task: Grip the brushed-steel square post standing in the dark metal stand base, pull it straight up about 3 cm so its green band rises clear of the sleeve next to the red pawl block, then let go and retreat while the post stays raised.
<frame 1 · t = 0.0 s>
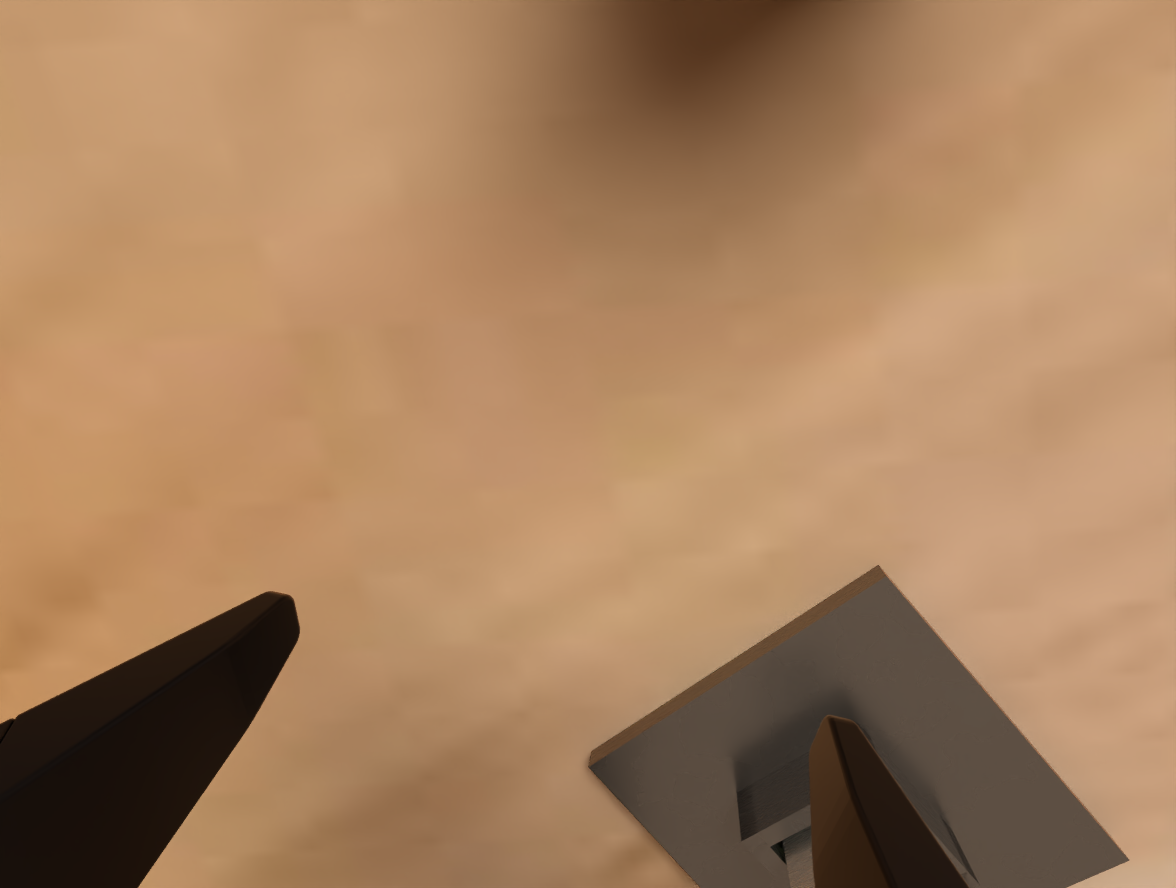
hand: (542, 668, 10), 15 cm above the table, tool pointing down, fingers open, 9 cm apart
stand base: (835, 792, 27), on the table
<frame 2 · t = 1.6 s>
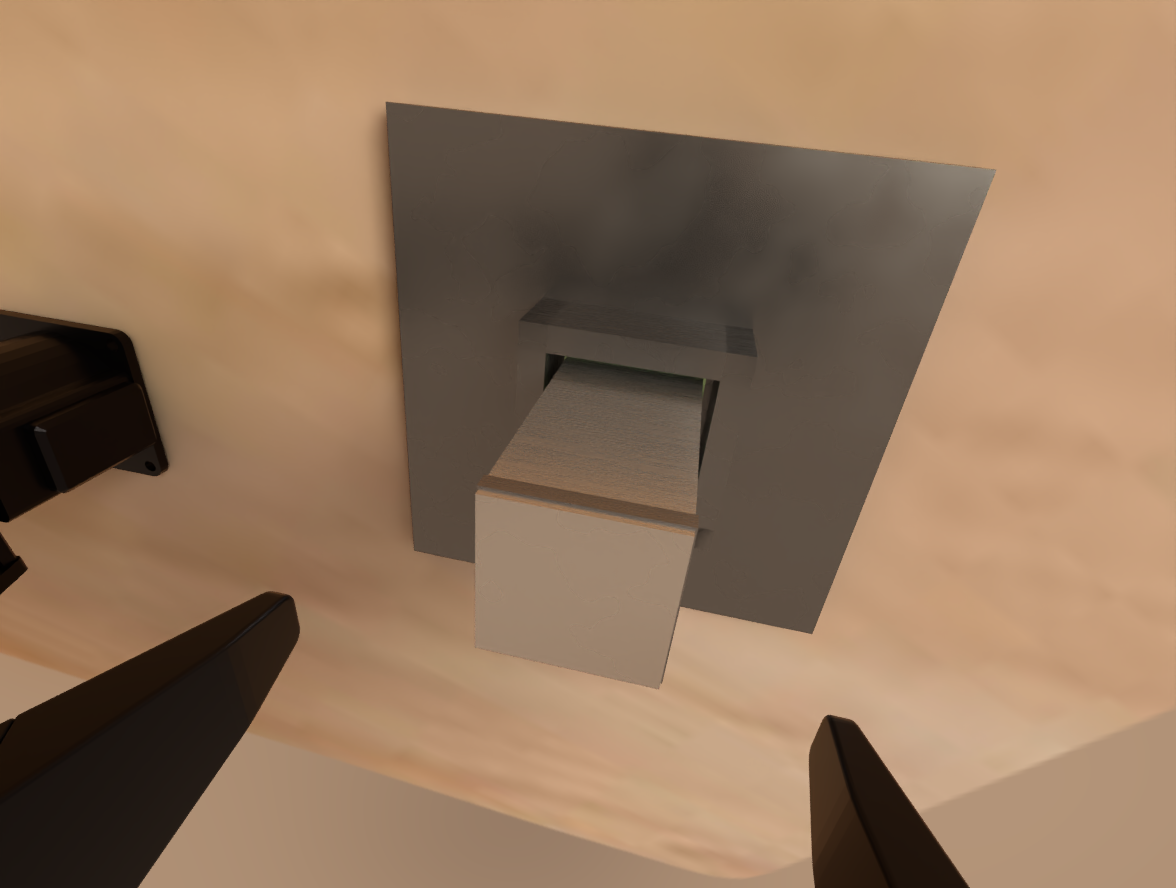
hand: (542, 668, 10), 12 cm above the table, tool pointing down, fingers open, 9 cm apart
post: (609, 479, 15), point 5 cm above the table, slide at 0.0 cm, touching stand base
stand base: (635, 396, 20), on the table
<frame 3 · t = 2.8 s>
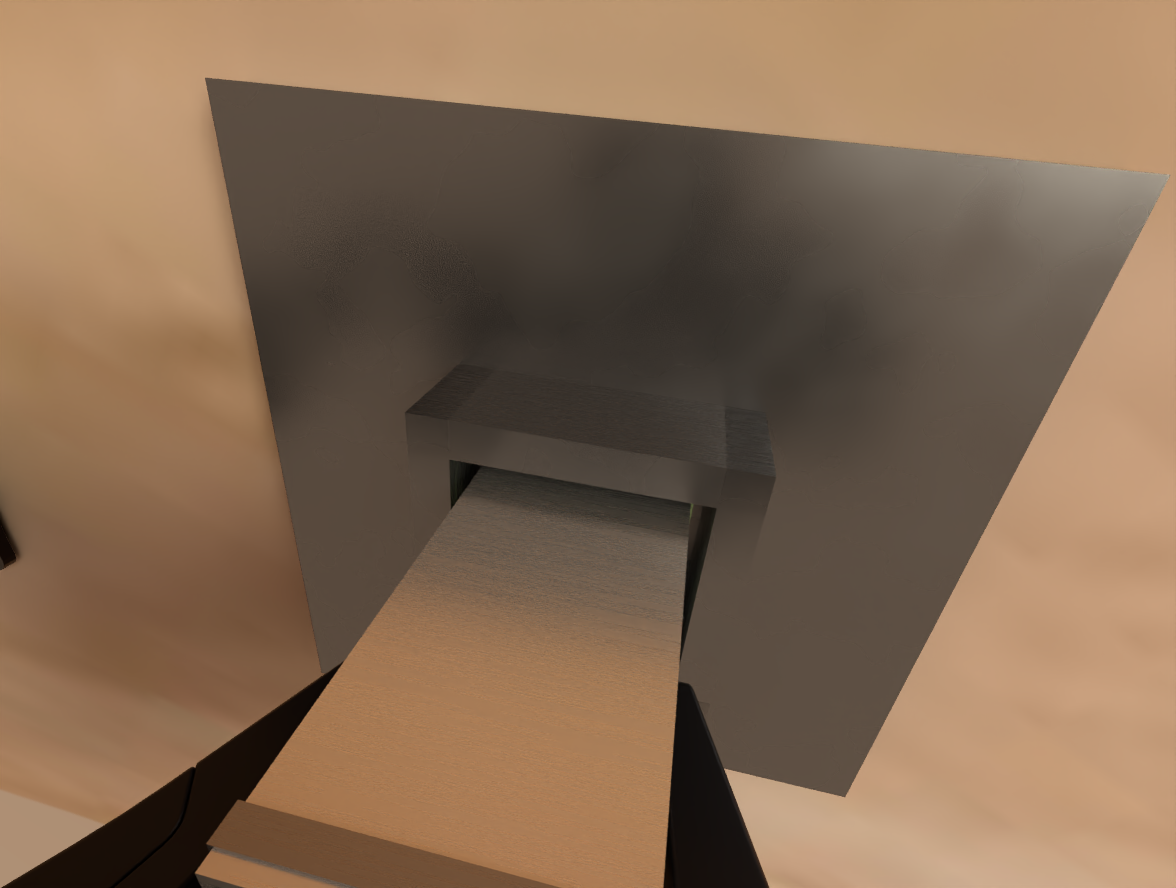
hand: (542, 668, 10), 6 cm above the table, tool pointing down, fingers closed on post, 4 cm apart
post: (542, 667, 10), point 5 cm above the table, slide at 0.0 cm, touching gripper, stand base
stand base: (600, 490, 14), on the table
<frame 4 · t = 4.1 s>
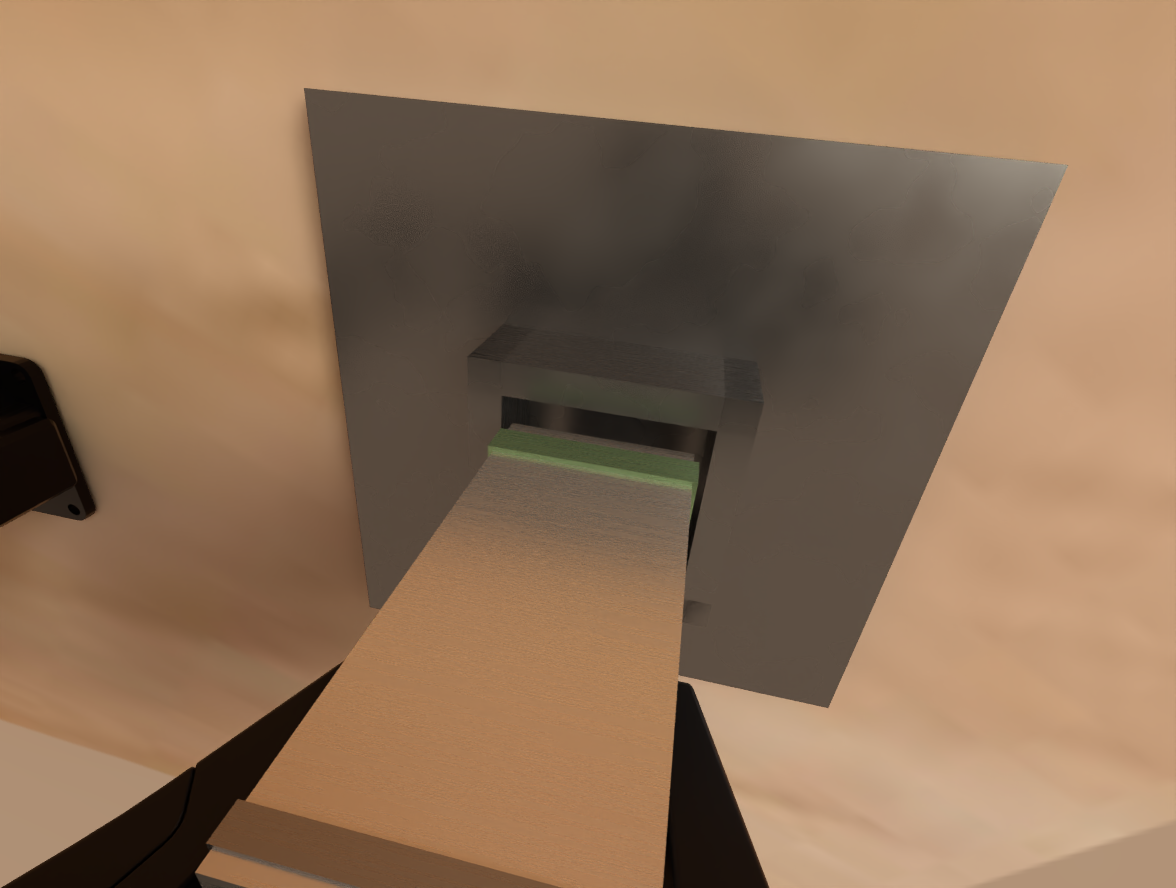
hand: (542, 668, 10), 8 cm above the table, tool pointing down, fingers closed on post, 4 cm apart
post: (542, 667, 10), point 8 cm above the table, slide at 2.9 cm, touching gripper
stand base: (618, 436, 17), on the table
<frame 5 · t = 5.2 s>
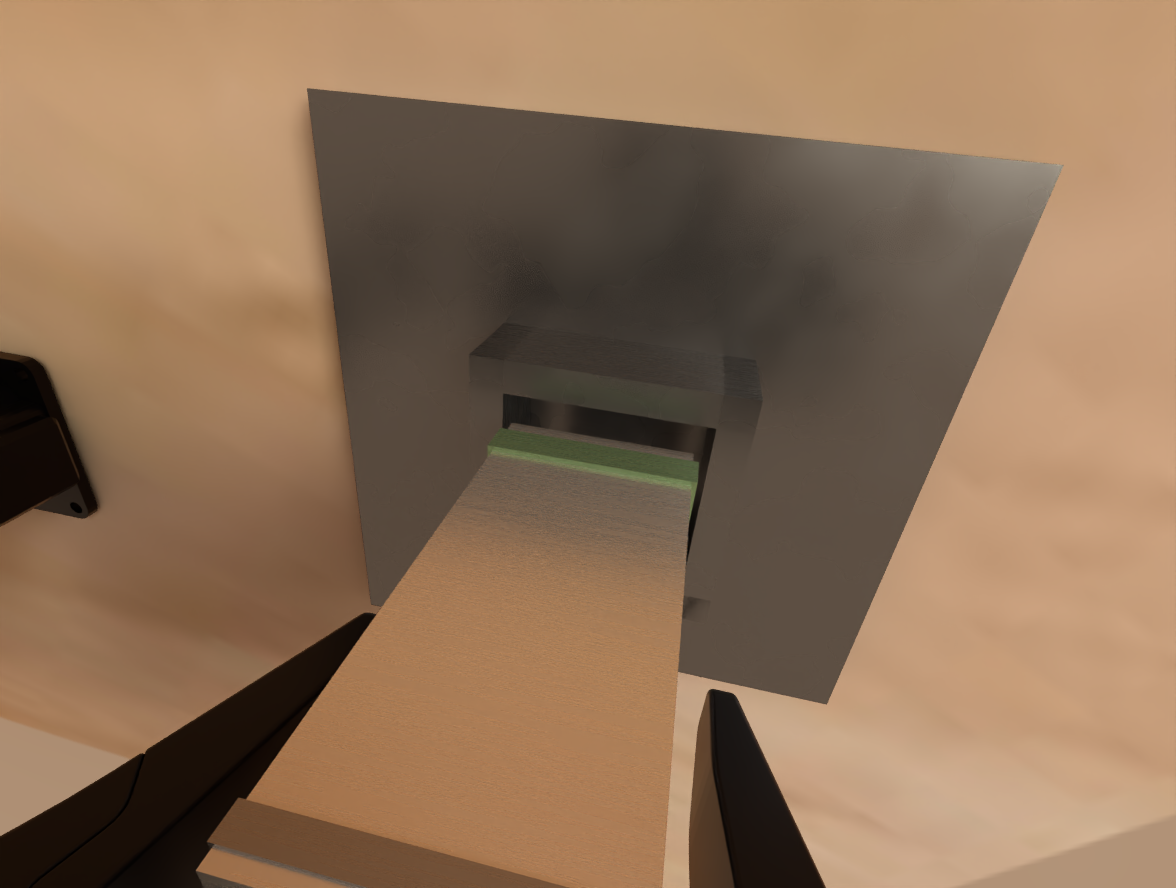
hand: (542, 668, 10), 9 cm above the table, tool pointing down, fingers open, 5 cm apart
post: (542, 666, 10), point 9 cm above the table, slide at 3.1 cm
stand base: (618, 434, 17), on the table
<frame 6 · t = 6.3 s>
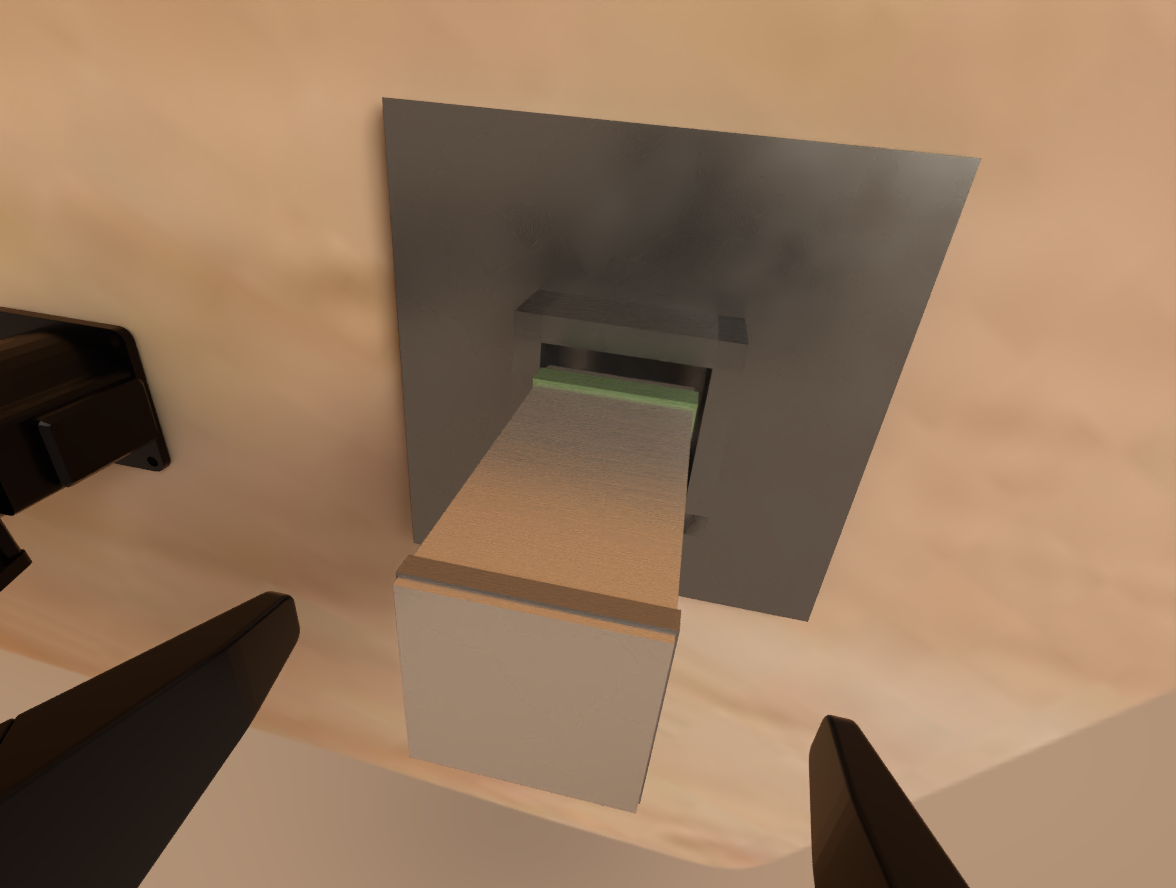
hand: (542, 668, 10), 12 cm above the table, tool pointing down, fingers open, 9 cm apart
post: (581, 533, 13), point 9 cm above the table, slide at 3.1 cm
stand base: (630, 387, 20), on the table
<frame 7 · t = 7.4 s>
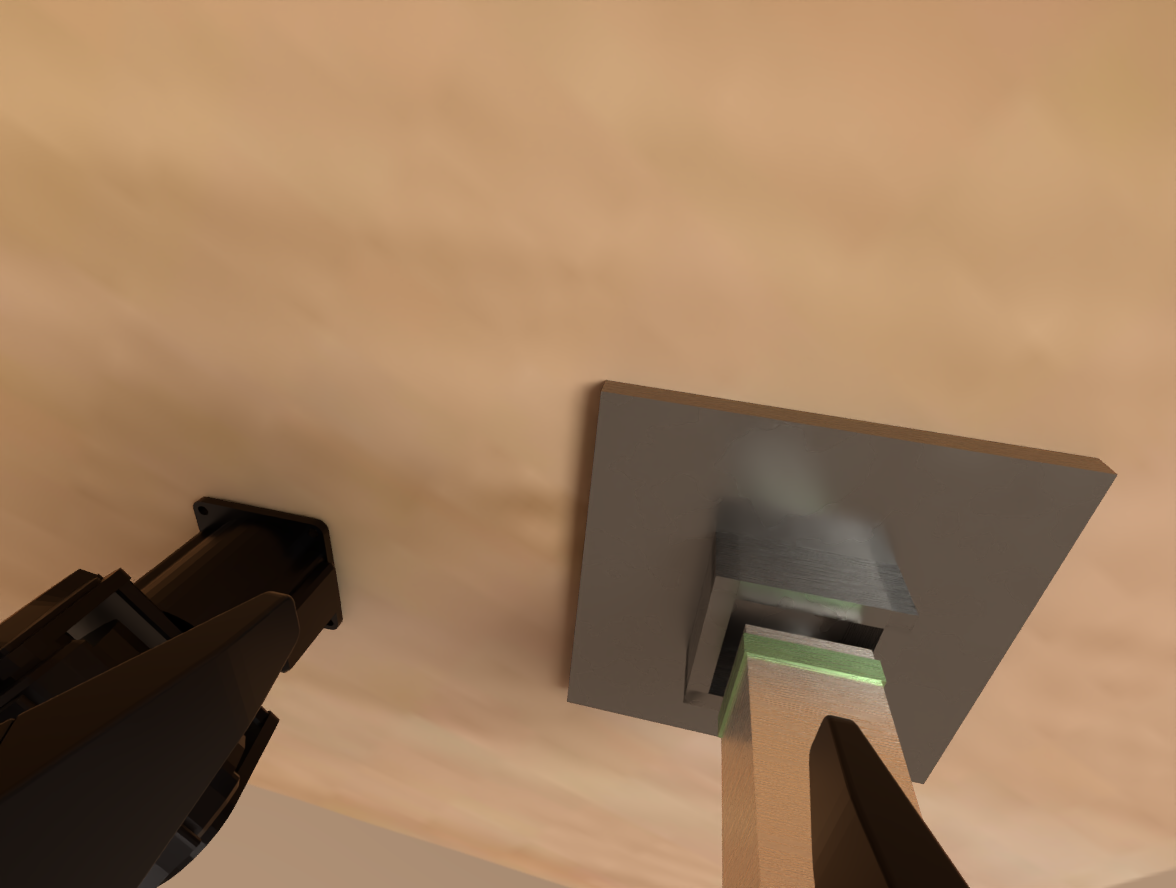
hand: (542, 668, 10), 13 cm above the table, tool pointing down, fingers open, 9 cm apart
post: (810, 811, 16), point 9 cm above the table, slide at 3.1 cm
stand base: (780, 594, 23), on the table
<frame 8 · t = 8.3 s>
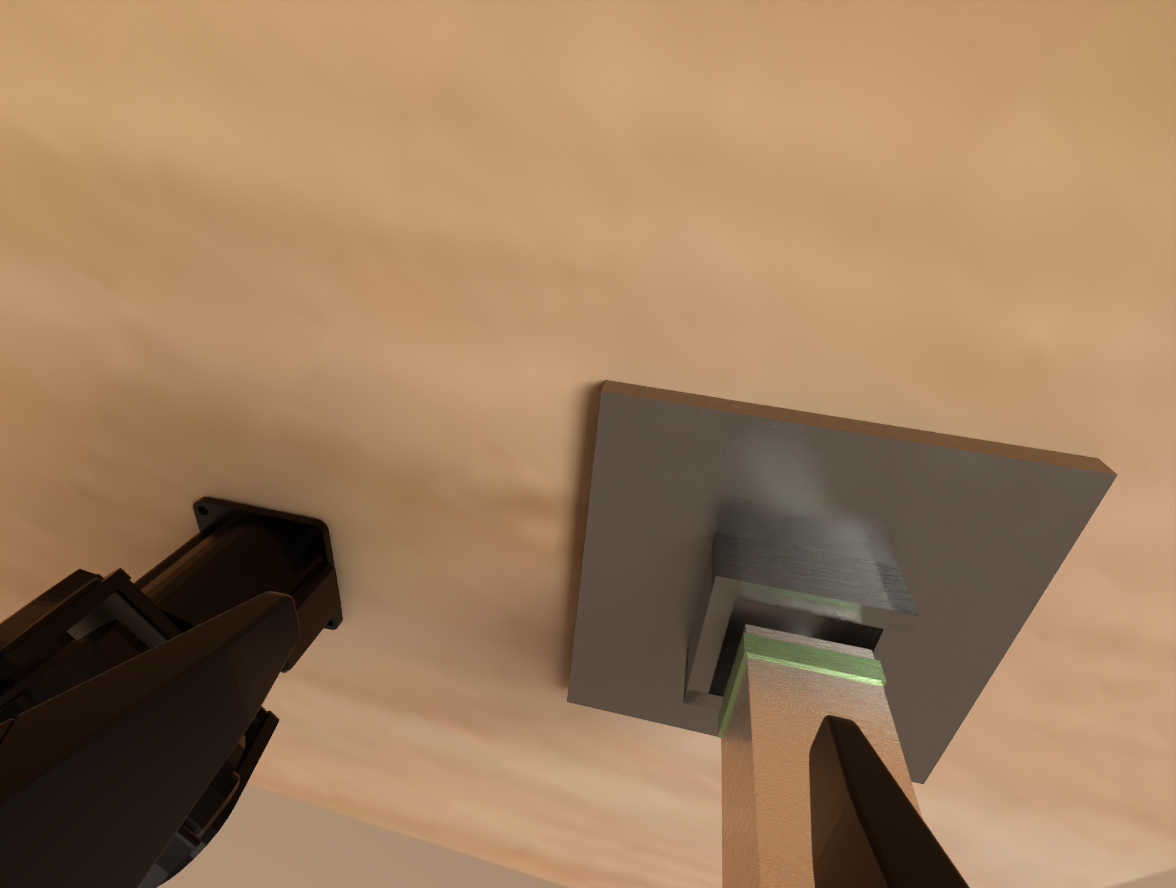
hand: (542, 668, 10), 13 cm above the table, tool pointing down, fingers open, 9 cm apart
post: (810, 811, 16), point 9 cm above the table, slide at 3.1 cm
stand base: (780, 595, 23), on the table
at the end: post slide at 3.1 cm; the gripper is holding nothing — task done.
